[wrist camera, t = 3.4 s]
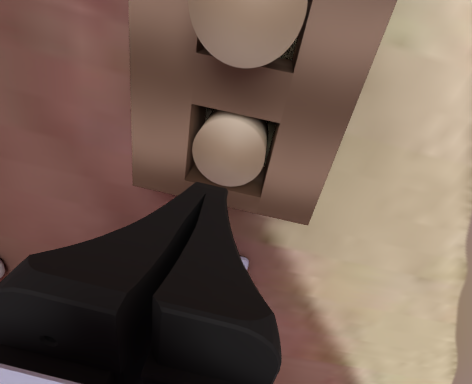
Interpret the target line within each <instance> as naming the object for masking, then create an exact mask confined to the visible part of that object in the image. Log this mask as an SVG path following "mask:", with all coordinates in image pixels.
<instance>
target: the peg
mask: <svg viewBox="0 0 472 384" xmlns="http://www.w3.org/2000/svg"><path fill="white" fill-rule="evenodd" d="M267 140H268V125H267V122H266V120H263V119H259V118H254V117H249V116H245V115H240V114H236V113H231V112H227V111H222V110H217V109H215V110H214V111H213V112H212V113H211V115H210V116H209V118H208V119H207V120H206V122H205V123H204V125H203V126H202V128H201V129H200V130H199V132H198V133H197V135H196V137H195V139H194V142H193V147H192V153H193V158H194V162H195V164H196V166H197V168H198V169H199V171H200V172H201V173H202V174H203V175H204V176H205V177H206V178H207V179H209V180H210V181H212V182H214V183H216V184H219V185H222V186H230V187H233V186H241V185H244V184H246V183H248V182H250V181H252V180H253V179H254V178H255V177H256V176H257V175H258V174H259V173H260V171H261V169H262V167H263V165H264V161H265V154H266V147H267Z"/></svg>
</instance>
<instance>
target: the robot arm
mask: <svg viewBox="0 0 472 384" xmlns="http://www.w3.org/2000/svg"><path fill="white" fill-rule="evenodd" d="M227 196H228V190H227V189H226V188H223V187H218V186H214V185H209V184H205V183H200V182H195V183H194V184H192V185H191V186H190V187H188V188H187V189H186V190H185V191H183V192H182V193H181V194H179V195H178V196H177V197H175V198H174V199H173V200H171V201H170V202H168V203H167V204H165V205H164V206H162V207H161V208H159V209H158V210H156V211H154V212H153V213H151V214H149V215H148V216H146V217H144V218H142V219H140V220H139V221H137V222H134V223H132V224H130V225H128V226H126V227H124V228H121V229H118V230H116V231H113V232H111V233H108V234H106V235H103V236H100V237H98V238H94V239H91V240H88V241H85V242H82V243H78V244H75V245H71V246H67V247H63V248H59V249H55V250H50V251H46V252H41V253H37V254H32V255H29V256H28V257H27V258H26V259H25V260H24V261H22V262H21V263H20V264H19V265H18V266H17V267H16V268H15V269H14V270H13V271H12V272H11V273H10V274H9V275H8V276H6V277H5V278H4V279H3V280H2V281H1V282H0V384H273V382H274V380H275V378H276V376H277V374H278V372H279V370H280V366H281V346H280V338H279V333H278V327H277V323H276V319H275V315H274V313H273V312H272V310H271V309H270V308H269V306H268V305H267V303H266V302H265V301H264V299H263V298H262V296H261V295H260V293H259V291H258V290H257V288H256V287H255V285H254V283H253V282H252V280H251V278H250V276H249V274H248V272H247V268H248V264H249V261H248V259H247V258H245V257H241V256H240V255H239V253H238V250H237V247H236V244H235V241H234V238H233V235H232V231H231V227H230V223H229V217H228V210H227Z"/></svg>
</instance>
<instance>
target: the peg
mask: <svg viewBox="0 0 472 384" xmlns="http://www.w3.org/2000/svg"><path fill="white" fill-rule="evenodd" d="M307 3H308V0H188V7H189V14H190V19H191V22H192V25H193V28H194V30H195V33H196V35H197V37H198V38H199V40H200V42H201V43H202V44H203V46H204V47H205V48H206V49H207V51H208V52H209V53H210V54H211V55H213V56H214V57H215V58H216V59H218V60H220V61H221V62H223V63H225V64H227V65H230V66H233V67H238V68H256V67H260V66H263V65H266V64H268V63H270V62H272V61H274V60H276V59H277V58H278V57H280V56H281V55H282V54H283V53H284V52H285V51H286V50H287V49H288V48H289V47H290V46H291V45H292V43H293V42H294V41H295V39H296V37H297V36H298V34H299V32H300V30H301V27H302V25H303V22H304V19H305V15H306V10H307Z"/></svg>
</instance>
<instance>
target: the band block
mask: <svg viewBox="0 0 472 384" xmlns="http://www.w3.org/2000/svg"><path fill="white" fill-rule="evenodd" d="M396 2H397V0H308V3H307V10H306V15H305V19H304V22H303V25H302V27H301V30H300V32H299V35H298V39H297V43H296V47H295V51H294V55H293V59H292V60H288V59H283V58H277V59H276V60H274V61H272V62H270V63H268V64H266V65H263V66H260V67H256V68H238V67H233V66H230V65H227V64H225V63H223V62H221V61H220V60H218V59H216V58H215V57H214V56H213V55H211V54H210V53H209V52H208V51H207V49H206V48H205V47H204V46H203V44H202V43H201V42H200V40H199V38H198V37H197V35H196V33H195V30H194V28H193V25H192V22H191V19H190V14H189V7H188V0H128V6H129V49H130V91H131V134H132V176H133V186H138V187H142V188H146V189H151V190H155V191H159V192H164V193H168V194H173V195H177V196H178V195H179V194H181V193H182V192H183V191H185V190H186V189H187V188H188V187H190V186H191V185H192V184H194V183H195V182H200V183H205V184H209V185H214V186H218V187H223V188H226V189H227V190H228V196H227V207H229V208H234V209H238V210H243V211H247V212H251V213H256V214H260V215H264V216H269V217H273V218H278V219H282V220H286V221H291V222H295V223H300V224H304V225H308V224H309V221H310V219H311V216H312V214H313V211H314V209H315V206H316V204H317V201H318V199H319V196H320V194H321V191H322V189H323V186H324V184H325V181H326V179H327V176H328V173H329V171H330V168H331V166H332V163H333V161H334V158H335V156H336V153H337V151H338V148H339V146H340V143H341V141H342V138H343V136H344V133H345V131H346V128H347V126H348V123H349V121H350V118H351V116H352V113H353V110H354V108H355V105H356V103H357V100H358V98H359V95H360V93H361V90H362V88H363V85H364V83H365V80H366V78H367V75H368V73H369V70H370V68H371V65H372V63H373V60H374V58H375V55H376V53H377V50H378V47H379V45H380V42H381V40H382V37H383V35H384V32H385V30H386V27H387V25H388V22H389V20H390V17H391V15H392V12H393V10H394V7H395V5H396ZM206 107H208V108H213V109H217V110H222V111H227V112H231V113H236V114H240V115H245V116H249V117H254V118H259V119H263V120H268V121H272V122H276V125H275V129H274V133H273V137H272V141H271V144H270V148H269V152H268V156H267V160H266V164H265V167H264V166H263V167H262V169H261V171H260V173H259V174H258V175H257V176H256V177H255V178H254V179H253V180H252V181H250V182H248V183H246V184H244V185H241V186H233V187H230V186H222V185H219V184H216V183H214V182H212V181H210V180H209V179H207V178H206V177H205V176H204V175H203V174H202V173H201V172H200V171H199V169H198V168H197V166H196V164H195V162H194V158H193V153H192V147H193V142H194V139H195V137H196V135H197V133H198V132H199V130H200V129H201V128H202V126H203V125H204V123H205V114H206Z"/></svg>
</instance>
